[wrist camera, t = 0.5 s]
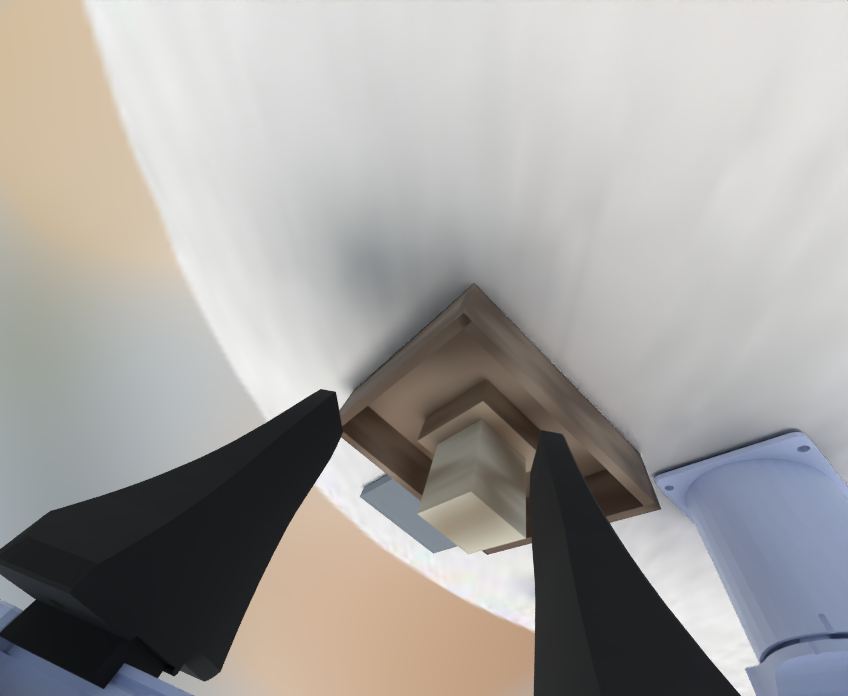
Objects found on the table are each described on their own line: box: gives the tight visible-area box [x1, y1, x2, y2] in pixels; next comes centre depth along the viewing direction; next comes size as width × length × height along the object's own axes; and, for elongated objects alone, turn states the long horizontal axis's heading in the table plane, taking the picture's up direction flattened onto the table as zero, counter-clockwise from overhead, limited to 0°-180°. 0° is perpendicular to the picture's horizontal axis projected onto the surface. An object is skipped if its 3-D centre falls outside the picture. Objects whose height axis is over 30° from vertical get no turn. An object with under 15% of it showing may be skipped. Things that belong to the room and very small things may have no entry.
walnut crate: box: [339, 283, 661, 555], centre depth 22 cm, size 16×13×4 cm
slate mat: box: [360, 475, 457, 553], centre depth 30 cm, size 10×8×1 cm
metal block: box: [417, 419, 526, 554], centre depth 19 cm, size 4×4×5 cm
